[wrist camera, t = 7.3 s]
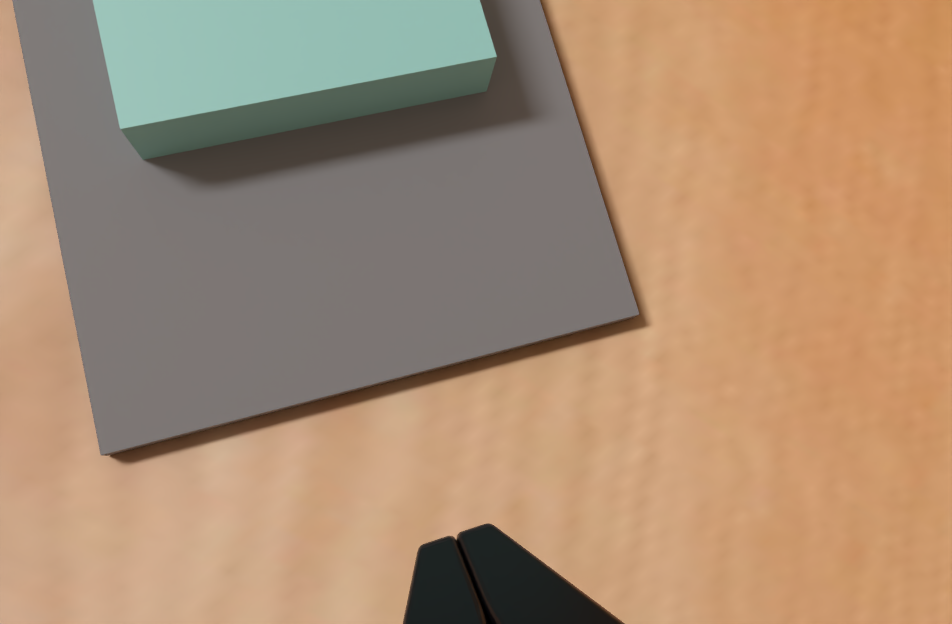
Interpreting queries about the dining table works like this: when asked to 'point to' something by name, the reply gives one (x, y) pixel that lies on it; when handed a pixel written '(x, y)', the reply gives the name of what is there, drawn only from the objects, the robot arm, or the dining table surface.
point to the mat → (316, 237)
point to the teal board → (281, 64)
